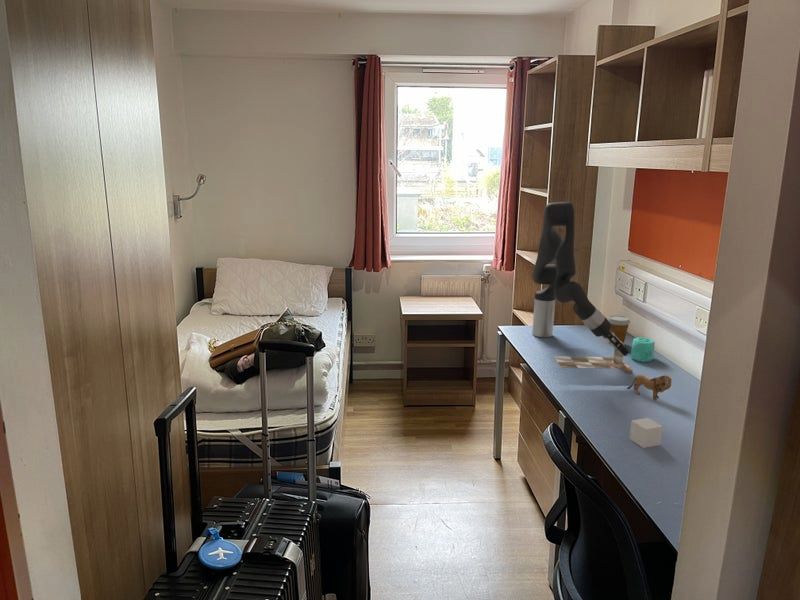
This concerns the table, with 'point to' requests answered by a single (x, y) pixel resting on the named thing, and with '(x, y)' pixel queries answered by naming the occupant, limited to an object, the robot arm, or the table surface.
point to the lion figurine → (652, 384)
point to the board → (584, 363)
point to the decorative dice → (642, 349)
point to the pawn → (618, 358)
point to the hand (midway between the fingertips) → (623, 351)
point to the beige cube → (646, 432)
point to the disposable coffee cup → (619, 326)
